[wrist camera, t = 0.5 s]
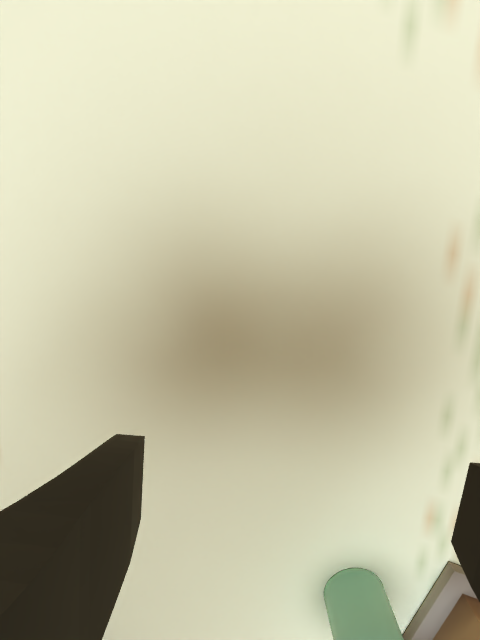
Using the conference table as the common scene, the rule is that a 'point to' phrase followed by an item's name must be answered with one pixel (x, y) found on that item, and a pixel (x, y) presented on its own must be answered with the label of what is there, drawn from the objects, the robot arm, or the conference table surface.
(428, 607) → the socket
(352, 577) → the peg
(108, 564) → the robot arm
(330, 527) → the conference table surface
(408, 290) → the conference table surface
